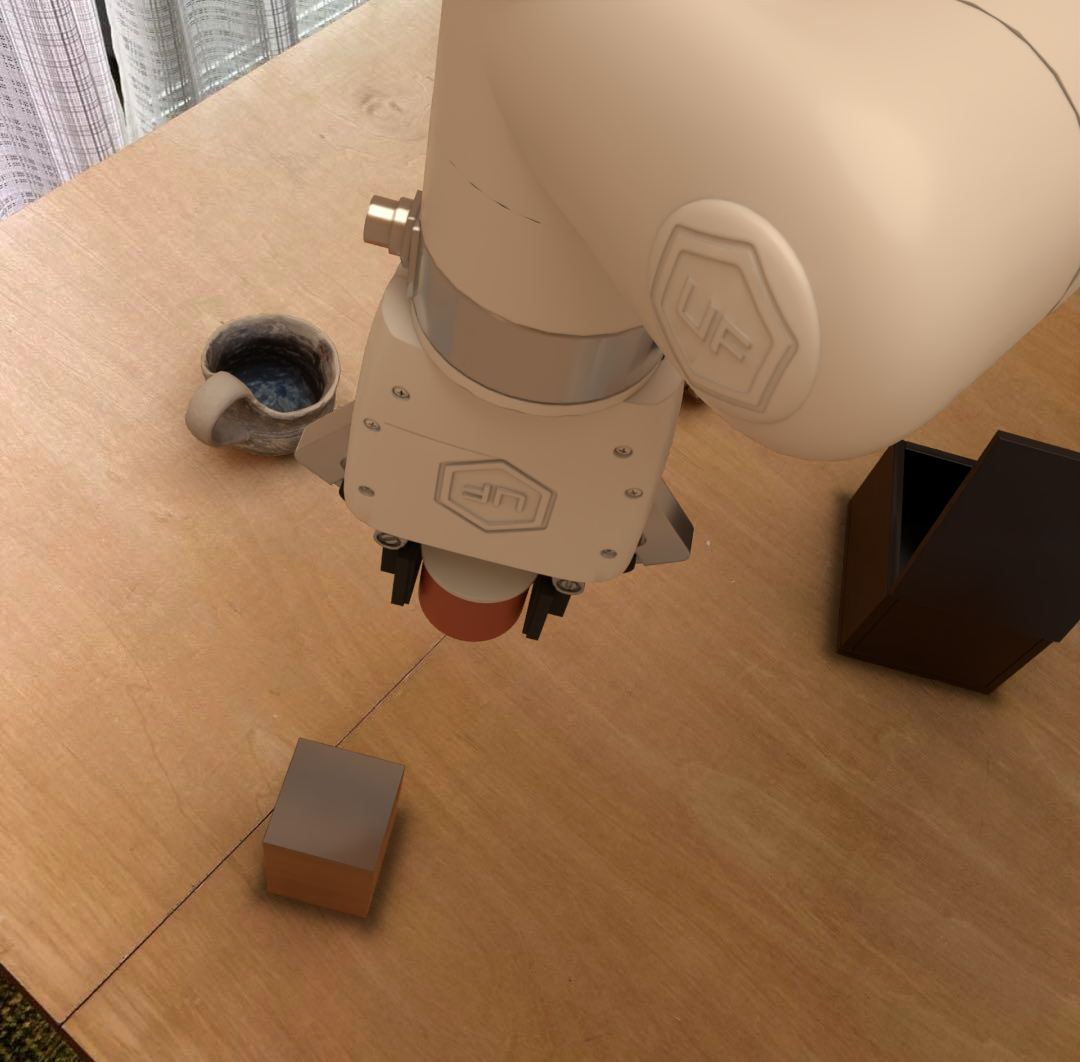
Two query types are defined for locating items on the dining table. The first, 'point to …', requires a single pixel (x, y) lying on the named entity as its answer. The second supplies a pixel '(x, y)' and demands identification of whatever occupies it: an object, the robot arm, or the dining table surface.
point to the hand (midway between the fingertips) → (473, 589)
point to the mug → (263, 384)
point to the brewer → (881, 554)
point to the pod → (471, 594)
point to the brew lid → (1006, 542)
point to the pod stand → (331, 827)
